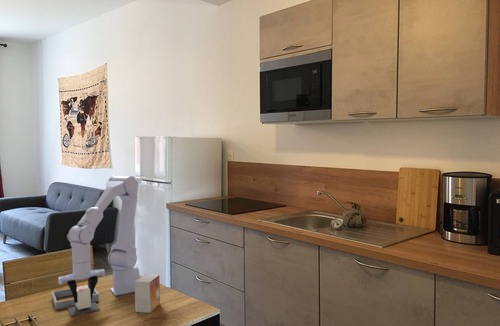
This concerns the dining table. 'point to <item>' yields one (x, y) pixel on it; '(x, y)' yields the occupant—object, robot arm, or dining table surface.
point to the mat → (74, 310)
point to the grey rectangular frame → (71, 301)
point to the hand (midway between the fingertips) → (83, 300)
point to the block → (83, 297)
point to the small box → (147, 293)
